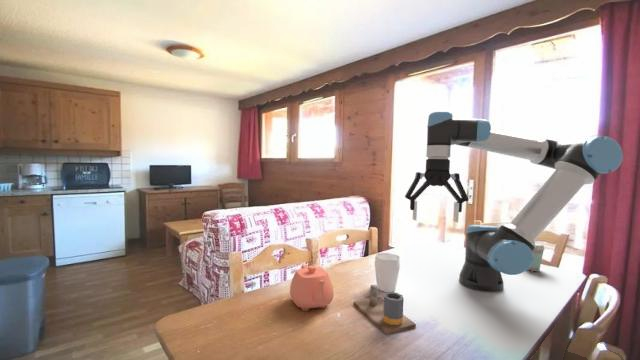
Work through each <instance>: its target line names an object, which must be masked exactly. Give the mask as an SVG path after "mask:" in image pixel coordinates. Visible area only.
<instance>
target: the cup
mask: <svg viewBox="0 0 640 360" xmlns="http://www.w3.org/2000/svg"><path fill="white" fill-rule="evenodd" d="M400 258H401V257H400V256H399V255H398V254H394V253H391V252H378V253H376V254H375V256H374V271H375V280H376V285H377V286H378V288H377V290H379V291H381V292H385V293H388V292H395V291H396V290H397V289H396V288H397V283H398V279H399V272H400V267H401V264H400V263H401V261H400V260H401V259H400Z"/></svg>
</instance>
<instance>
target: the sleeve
mask: <svg viewBox="0 0 640 360" xmlns="http://www.w3.org/2000/svg"><path fill="white" fill-rule="evenodd" d="M391 298H395V299H391ZM383 300H384V309H383V319H384V321H385V322H386V323H388V324H390V325H399V324H401V323H403V315H404V295H402V294H400V293H399V292H395V291H393V292H385V293H384V294H383Z"/></svg>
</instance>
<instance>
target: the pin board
mask: <svg viewBox="0 0 640 360" xmlns="http://www.w3.org/2000/svg"><path fill="white" fill-rule="evenodd" d="M369 289H370V291H369V292H370V294H369V298H366V299H360V300H354V301H352V302H353V303H352V304H353V307H355V308H356V309H357V310H358V311H359V312H360V313H362V314H363V315H364V316H365V317H366V318H367V319H368V320H369V321H370V322H371V323H373V324H374V326H376V327H377V328H378V329H379V330H380V331H381V332H382V333H384V334H385V335H391V334H395V333H399V332H403V331H406V330H407V331H408V330H412V329H416V328H417V323H415V322H414V321H413V320H412V319H410V318H408V317H407V316H406V315H404V314H403V323H401V324H399V325H390V324H388V323H386V322H385V321H384V319H383V309H384V298H382V297H380V296H378V286H377V284H371V285H370V287H369ZM391 299H395V298H391Z"/></svg>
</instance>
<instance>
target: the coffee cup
mask: <svg viewBox="0 0 640 360" xmlns="http://www.w3.org/2000/svg"><path fill="white" fill-rule="evenodd" d="M535 246H536V248H535V249H534V250H533V251H532V254H533V257H532V259H533V262H532V264H531V266H530V267H529V268H528V269H527V270H526V271H528V270H531V271H530V272H533V271H538V270H539V271H540V270H541V264H542V260H543V255H544V251H545V246H544V244H543V243H542V242H537V241H535ZM539 271H538V272H539Z"/></svg>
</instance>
